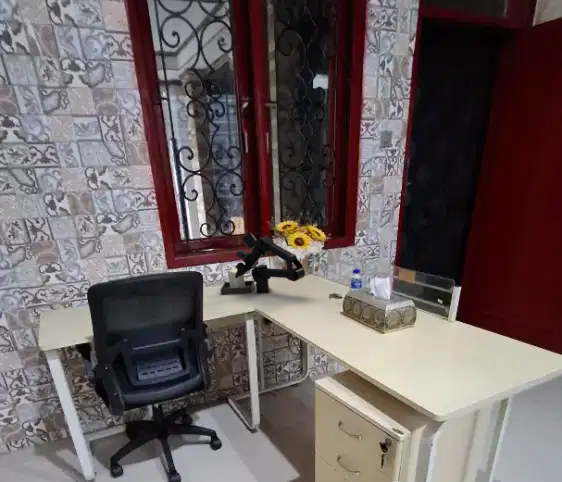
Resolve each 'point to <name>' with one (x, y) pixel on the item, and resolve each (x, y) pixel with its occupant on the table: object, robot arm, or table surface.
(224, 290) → the pan
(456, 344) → the table surface
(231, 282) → the small box
